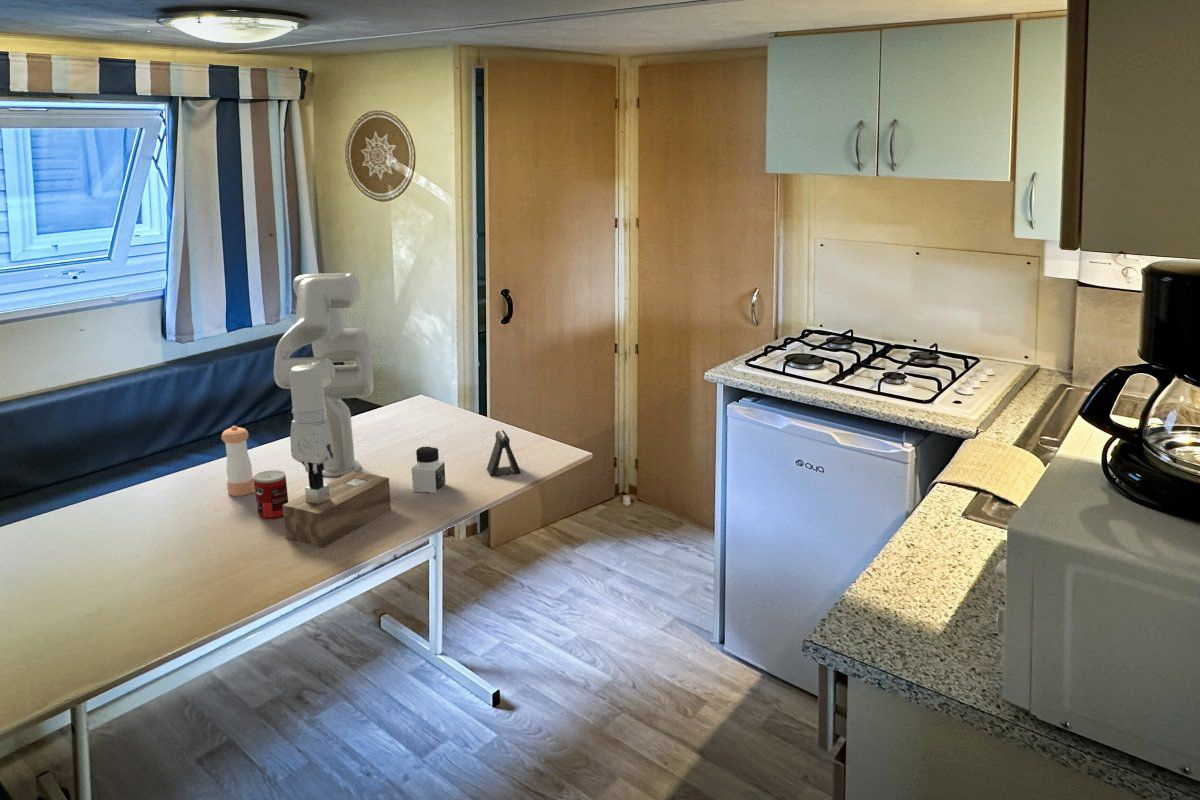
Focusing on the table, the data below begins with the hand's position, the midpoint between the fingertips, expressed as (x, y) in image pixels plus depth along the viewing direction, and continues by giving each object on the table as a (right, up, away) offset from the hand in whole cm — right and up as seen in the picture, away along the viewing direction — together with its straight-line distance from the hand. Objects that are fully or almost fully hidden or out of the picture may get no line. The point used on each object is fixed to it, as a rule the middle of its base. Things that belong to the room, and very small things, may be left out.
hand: (316, 486), depth 238 cm
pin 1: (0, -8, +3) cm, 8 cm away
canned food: (-16, -9, +16) cm, 24 cm away
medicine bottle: (+22, -4, +33) cm, 40 cm away
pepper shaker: (-30, -4, +32) cm, 44 cm away
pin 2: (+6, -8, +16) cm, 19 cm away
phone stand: (+42, 0, +45) cm, 61 cm away
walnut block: (+3, -11, +10) cm, 15 cm away
